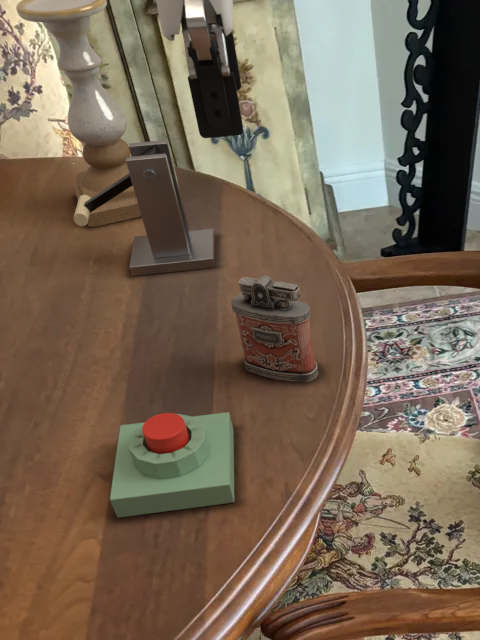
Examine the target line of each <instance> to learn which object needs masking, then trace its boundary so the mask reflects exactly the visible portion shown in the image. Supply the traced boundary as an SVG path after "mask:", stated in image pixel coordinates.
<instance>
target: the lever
mask: <svg viewBox="0 0 480 640" xmlns="http://www.w3.org/2000/svg"><path fill="white" fill-rule="evenodd" d="M155 154H160V153H159V152H158V151H157V149H156V148H155V147H154V148H152V149H151V150H149V151H147V152H146V153H144V154H143V155H141V156H145V155H155ZM131 186H133V184H132V181H131V177H130V174H127V175H126V176H124V177H123V178H121V179H120V180H118V181H117V182H115V183H114V184H112V185H110V186H109V187H107V188H106V189H104V190H103V191H101V192H100V193H98V194H97V195H95V196H94V197H92V198H90V197H89V196H87V195H81V196H80V197H79V200H77V203H76V207H75V211H74V214H73V222H74V223H75V224H76V225H77V226H79V227H85V226H88V225H87V223H88V219H89V216H90V213H91V212H92V211H94V210H95V209H97V208H99V207H100V206H102V205H103V204H105V203H106V202H108V201H109V200H111V199H112V198H114V197H116V196H117V195H119V194H120V193H122V192H123V191H125V190H126V189H128V188H129V187H131Z"/></svg>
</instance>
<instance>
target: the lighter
mask: <svg viewBox="0 0 480 640" xmlns="http://www.w3.org/2000/svg"><path fill="white" fill-rule="evenodd" d="M238 284H239V290H240V292H241V293H239V294H237V295H235V296H234V297H233V298H232V299H231V302H230V303H231V308H232V311H233V313H235V317H236V322H237V326H238V331H239V336H240V340H241V345H242V350H243V355H244V357H243V364H244V368H245V369H246V371H248V372H251V373H253V374H256V375H259V376H263V377H266V378H271V379H274V380H279V381H280V380H281V381H288V382H301V383H306V382H307V383H308V382H312V381H313V380H314V379H316V378H317V376H318V375H319V370H318V363H317V362H316V360H315V354H314V347H313V341H312V340H313V339H312V333H311V325H310V317H311V311H310V305H308V303H306V302H305V301H301V300H300V299H301V291H300V286H299V285H297V284H296V283H289V282H284V281H279V280H278V281H274V280H273V279H272V278H271V277H270V276H269V275H266V274H265V275H262V276H260V277H259V278H255V277H247V276H245V277H241V278H240V279H239V280H238Z"/></svg>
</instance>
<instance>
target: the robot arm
mask: <svg viewBox="0 0 480 640" xmlns="http://www.w3.org/2000/svg"><path fill="white" fill-rule="evenodd" d="M155 2H156V7H157V13H158V18H159V23H160V28H161V33H162V36H163V37H164V38H165V39H166V40H168V41H169V42H174V41H175V38H176V35H180V31H181V33H182V39H183V44H184V45H183V46H184V51H185V57H186V65H187V70H188V71H187V72H188V75H187V81H188V86H189V91H190V95H191V101H192V104H193V110H194V114H195V119H196V123H197V128H198V133H199V136H200V137H201V138H203V139H211V138H222V137H223V138H224V137H234V136H235V137H236V136H241V135H243V133H244V125H243V119H242V111H241V106H240V100H239V95H238V91H240V90H241V89H242V80H241V79H242V78H241V75H240V67H239V63H238V62H239V61H238V57H237V56H238V55H237V50H236V44H235V38H234V32H232V31H233V30H234V1H233V0H155Z"/></svg>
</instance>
